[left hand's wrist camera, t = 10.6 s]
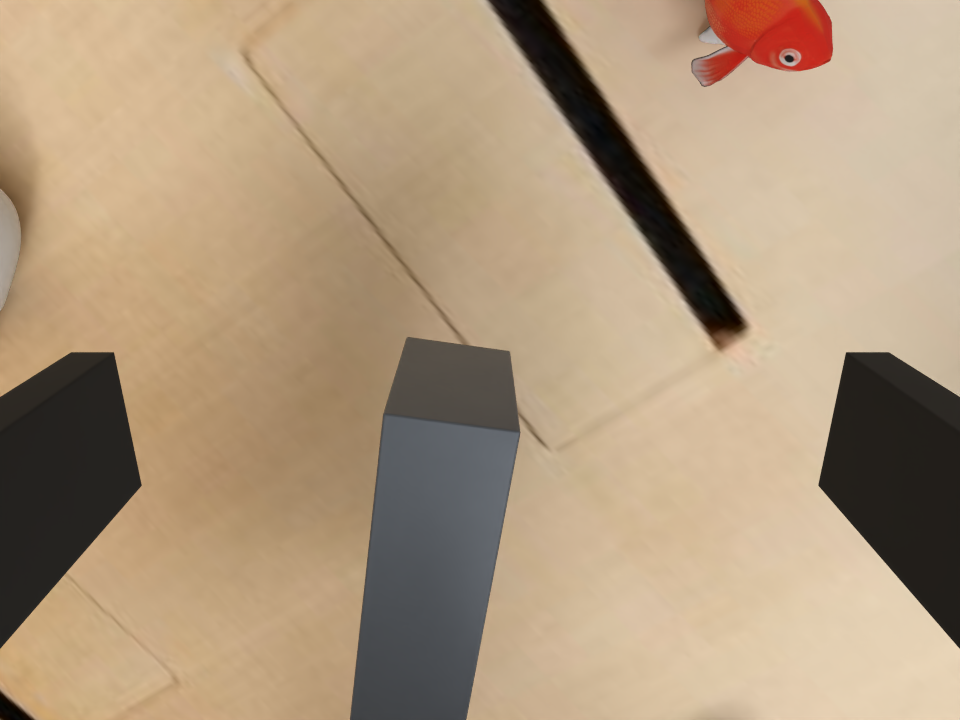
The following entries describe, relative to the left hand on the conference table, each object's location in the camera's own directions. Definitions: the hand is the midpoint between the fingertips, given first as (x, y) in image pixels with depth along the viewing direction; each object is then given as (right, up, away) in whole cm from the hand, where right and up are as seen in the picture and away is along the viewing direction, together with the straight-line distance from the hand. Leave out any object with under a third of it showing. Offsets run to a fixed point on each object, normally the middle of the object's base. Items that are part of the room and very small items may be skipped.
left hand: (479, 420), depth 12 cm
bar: (-3, -9, +22) cm, 24 cm away
